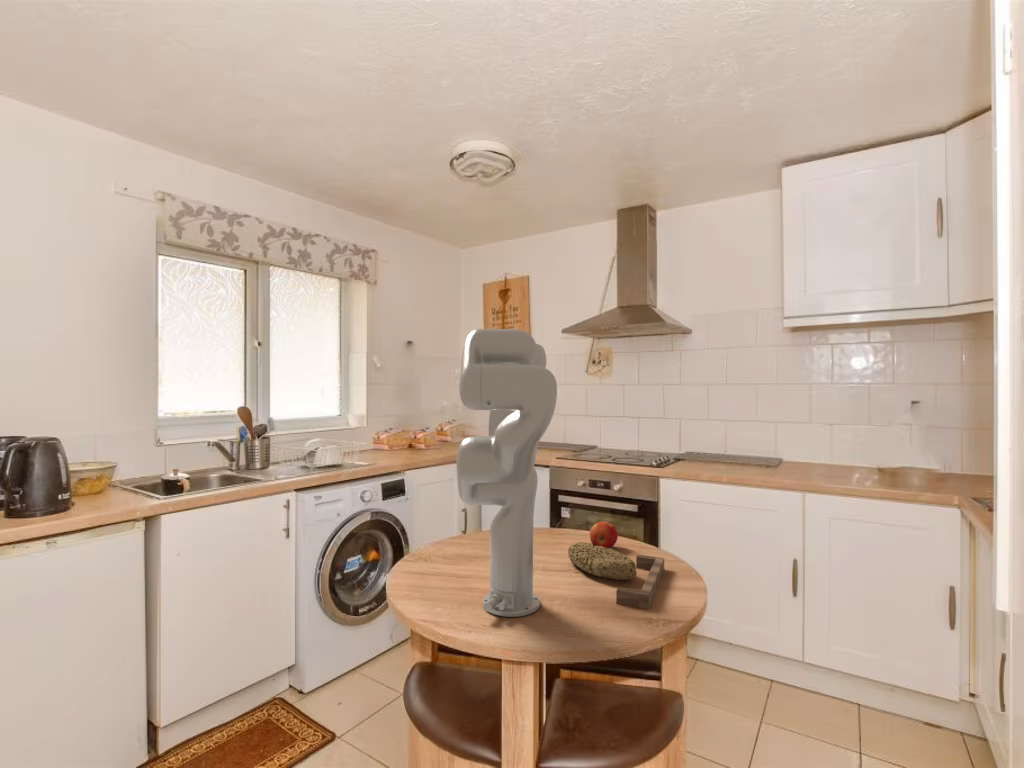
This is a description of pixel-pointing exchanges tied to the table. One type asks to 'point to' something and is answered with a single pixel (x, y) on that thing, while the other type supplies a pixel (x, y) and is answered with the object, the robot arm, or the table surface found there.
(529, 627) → the table surface
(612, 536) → the apple
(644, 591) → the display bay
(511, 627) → the table surface
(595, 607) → the table surface
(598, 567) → the sponge
